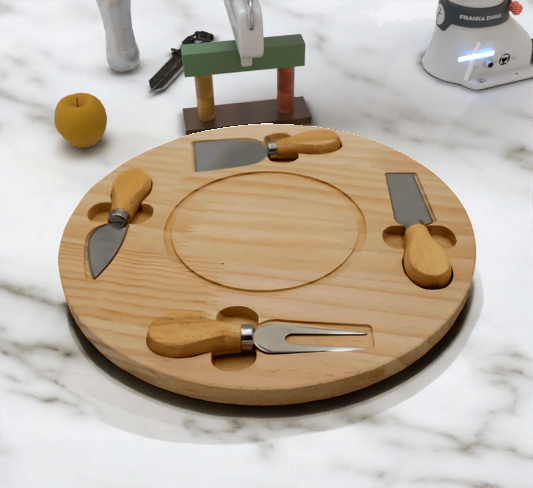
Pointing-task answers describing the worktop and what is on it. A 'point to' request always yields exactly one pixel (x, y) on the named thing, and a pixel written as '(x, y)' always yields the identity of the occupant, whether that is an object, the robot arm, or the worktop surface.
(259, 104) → the rods
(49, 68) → the worktop surface
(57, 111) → the apple
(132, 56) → the plastic bottle
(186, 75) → the bar
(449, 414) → the worktop surface
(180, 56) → the knife
